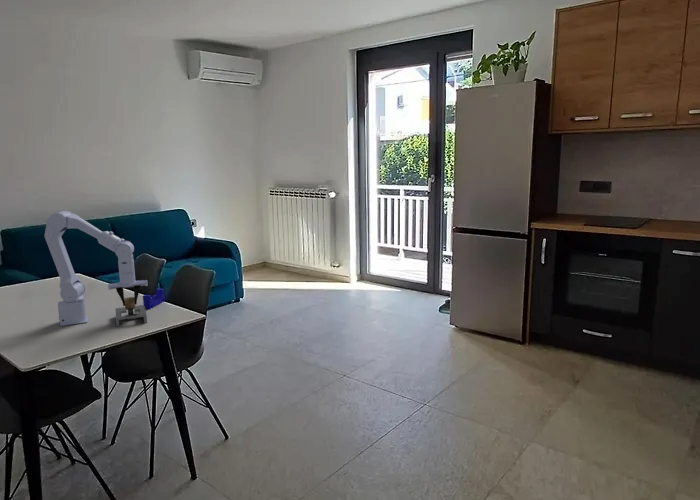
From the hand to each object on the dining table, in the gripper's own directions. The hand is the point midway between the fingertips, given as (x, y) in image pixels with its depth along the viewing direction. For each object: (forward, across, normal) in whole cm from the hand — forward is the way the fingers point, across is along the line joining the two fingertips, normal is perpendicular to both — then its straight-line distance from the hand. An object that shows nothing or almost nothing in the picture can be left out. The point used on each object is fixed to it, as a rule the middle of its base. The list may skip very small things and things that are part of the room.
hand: (129, 304), depth 205 cm
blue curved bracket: (+6, +10, +16) cm, 20 cm away
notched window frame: (+6, 0, -2) cm, 6 cm away
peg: (+6, 0, 0) cm, 6 cm away
